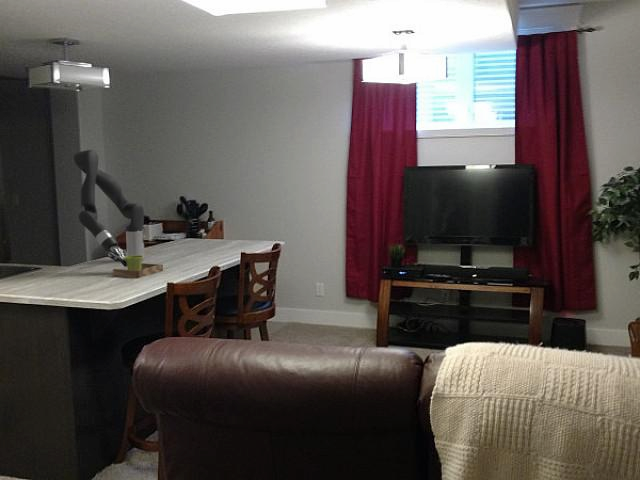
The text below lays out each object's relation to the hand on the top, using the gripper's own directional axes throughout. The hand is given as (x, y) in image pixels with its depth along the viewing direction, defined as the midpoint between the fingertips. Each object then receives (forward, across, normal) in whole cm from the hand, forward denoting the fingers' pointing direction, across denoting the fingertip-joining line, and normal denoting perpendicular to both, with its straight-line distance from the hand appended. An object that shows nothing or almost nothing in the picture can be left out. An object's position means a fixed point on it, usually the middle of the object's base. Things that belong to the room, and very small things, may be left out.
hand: (127, 265), depth 315 cm
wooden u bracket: (+7, 0, -2) cm, 7 cm away
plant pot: (+6, 0, 0) cm, 6 cm away
